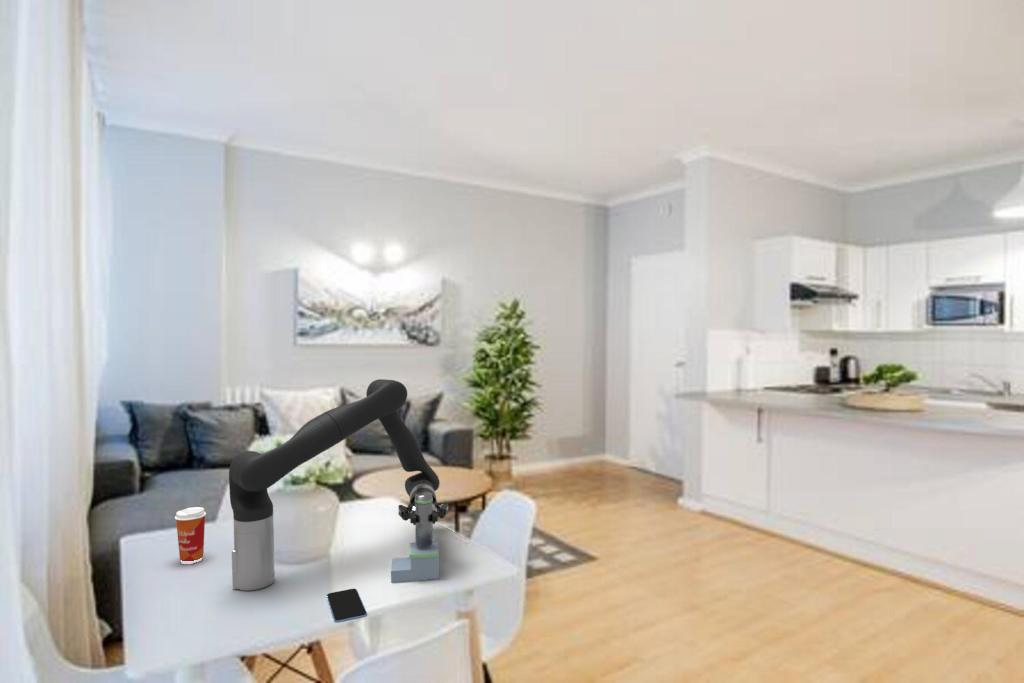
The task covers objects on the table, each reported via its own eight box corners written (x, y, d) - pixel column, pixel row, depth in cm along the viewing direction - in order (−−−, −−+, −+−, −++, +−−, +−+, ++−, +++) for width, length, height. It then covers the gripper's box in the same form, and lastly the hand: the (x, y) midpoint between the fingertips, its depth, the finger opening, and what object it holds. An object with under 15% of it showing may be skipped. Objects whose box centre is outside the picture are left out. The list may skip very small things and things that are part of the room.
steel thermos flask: (415, 547, 153) (414, 497, 153) (415, 540, 158) (414, 492, 157) (433, 546, 154) (432, 496, 153) (432, 539, 159) (432, 491, 158)
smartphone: (356, 587, 148) (368, 614, 134) (356, 590, 148) (368, 617, 134) (325, 593, 145) (334, 621, 131) (325, 596, 145) (334, 624, 131)
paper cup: (169, 563, 163) (168, 513, 163) (193, 553, 170) (192, 505, 170) (190, 568, 160) (188, 516, 160) (214, 557, 167) (212, 508, 167)
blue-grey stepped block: (391, 583, 150) (390, 556, 150) (392, 569, 159) (391, 543, 158) (438, 579, 152) (438, 552, 152) (437, 566, 161) (437, 540, 160)
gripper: (397, 488, 168) (395, 507, 151) (448, 485, 171) (452, 504, 154) (397, 514, 169) (396, 536, 152) (448, 511, 171) (452, 533, 154)
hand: (424, 520), depth 153 cm, fingers closed on steel thermos flask, 4 cm apart
